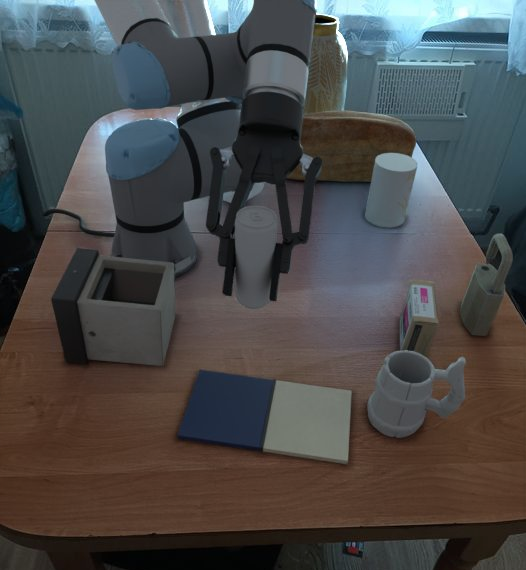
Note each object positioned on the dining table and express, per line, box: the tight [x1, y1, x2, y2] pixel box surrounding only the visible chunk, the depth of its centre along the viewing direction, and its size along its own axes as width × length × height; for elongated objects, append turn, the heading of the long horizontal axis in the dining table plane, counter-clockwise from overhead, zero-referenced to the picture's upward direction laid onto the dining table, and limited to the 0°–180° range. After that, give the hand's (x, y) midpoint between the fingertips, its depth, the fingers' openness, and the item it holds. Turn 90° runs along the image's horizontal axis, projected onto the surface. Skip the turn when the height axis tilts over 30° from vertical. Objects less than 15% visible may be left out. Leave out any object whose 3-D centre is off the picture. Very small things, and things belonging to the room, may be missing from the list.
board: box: [177, 369, 353, 465], centre depth 73 cm, size 22×12×1 cm, turn 81°
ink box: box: [399, 279, 440, 358], centre depth 82 cm, size 10×4×8 cm, turn 170°
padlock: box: [459, 233, 514, 337], centre depth 84 cm, size 4×8×15 cm, turn 176°
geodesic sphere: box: [223, 182, 266, 204], centre depth 111 cm, size 15×14×14 cm
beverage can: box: [234, 205, 278, 310], centre depth 65 cm, size 5×5×12 cm
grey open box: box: [50, 247, 176, 367], centre depth 79 cm, size 12×14×12 cm
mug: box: [366, 350, 467, 439], centre depth 70 cm, size 8×12×12 cm, turn 85°
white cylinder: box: [364, 153, 419, 228], centre depth 109 cm, size 8×8×12 cm
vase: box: [302, 13, 349, 114], centre depth 132 cm, size 17×17×27 cm
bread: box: [286, 109, 417, 183], centre depth 122 cm, size 12×31×14 cm, turn 91°
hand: (249, 296), depth 64 cm, fingers closed on beverage can, 5 cm apart
